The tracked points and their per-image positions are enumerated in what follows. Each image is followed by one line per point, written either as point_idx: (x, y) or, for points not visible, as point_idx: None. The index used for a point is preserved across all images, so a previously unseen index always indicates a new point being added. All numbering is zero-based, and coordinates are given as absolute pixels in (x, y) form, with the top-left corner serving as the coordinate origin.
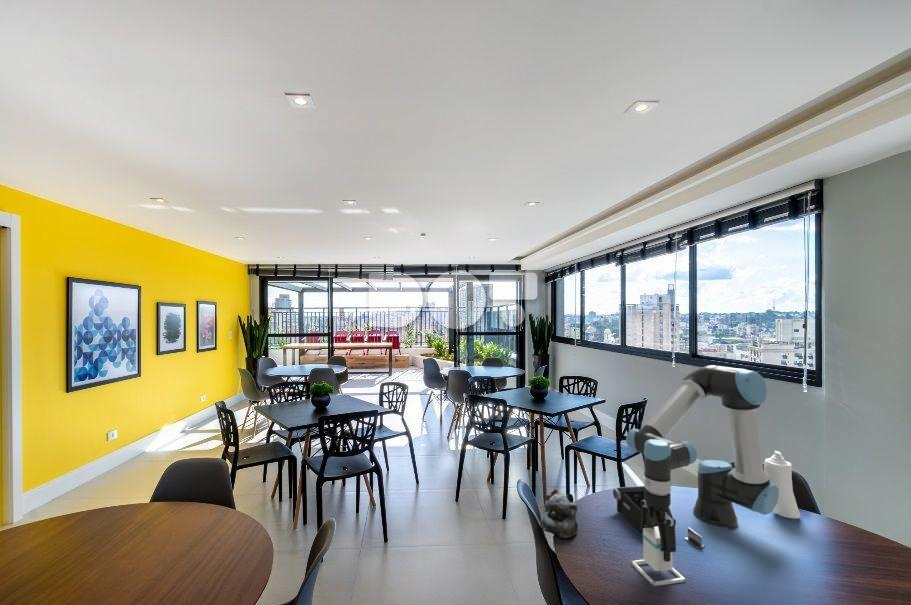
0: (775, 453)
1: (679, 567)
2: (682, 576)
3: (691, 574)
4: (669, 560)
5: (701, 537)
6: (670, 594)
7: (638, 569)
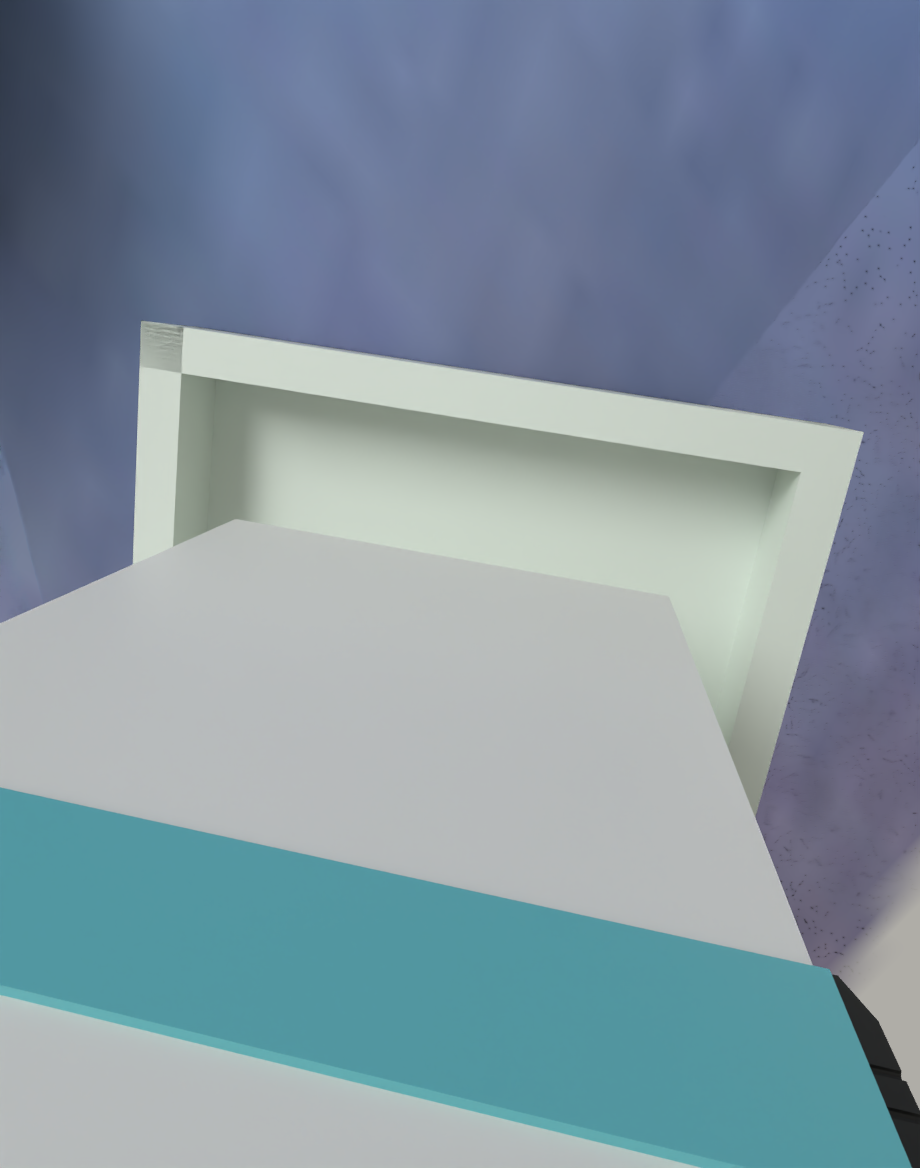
0: None
1: (415, 81)
2: (782, 426)
3: (665, 19)
4: (859, 1033)
5: None
6: (857, 838)
7: None
